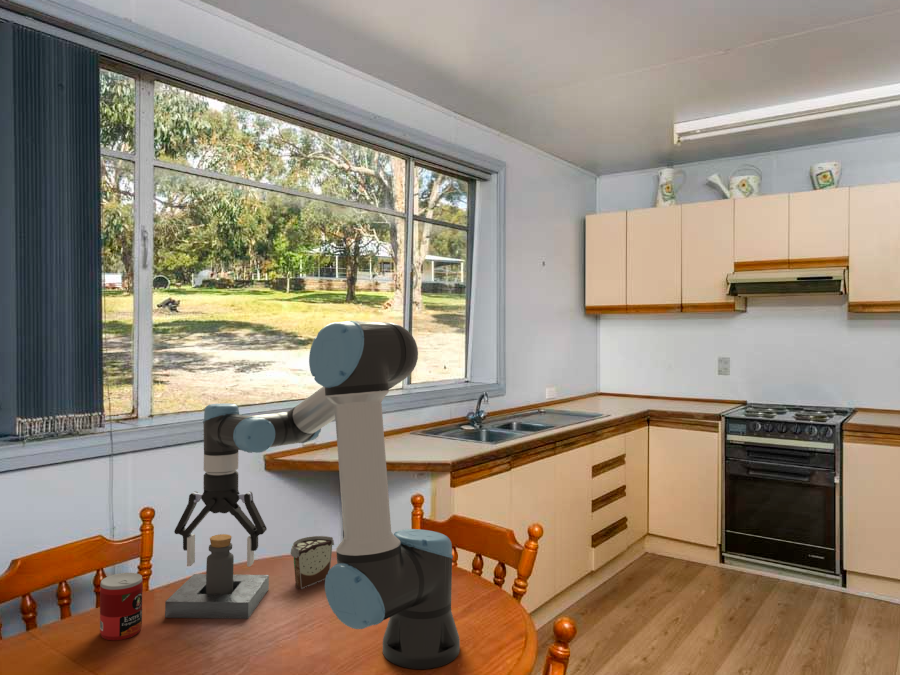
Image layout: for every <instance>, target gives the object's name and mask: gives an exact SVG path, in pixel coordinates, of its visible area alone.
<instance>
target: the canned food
mask: <svg viewBox="0 0 900 675" xmlns="http://www.w3.org/2000/svg"><path fill="white" fill-rule="evenodd" d="M99 587H100V588H99V633H100V636H101V638H102V639H104V640H107V641H122V640H126V639H129V638H132V637H134V636H136V635H137V634H139V633H140V632H141V629H142V627H143V575H141V574H140V573H138V572H122V573H120V572H119V573H115V574H112V575H108V576H105V577H104V578H103V579H101V581H100V585H99Z"/></svg>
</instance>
